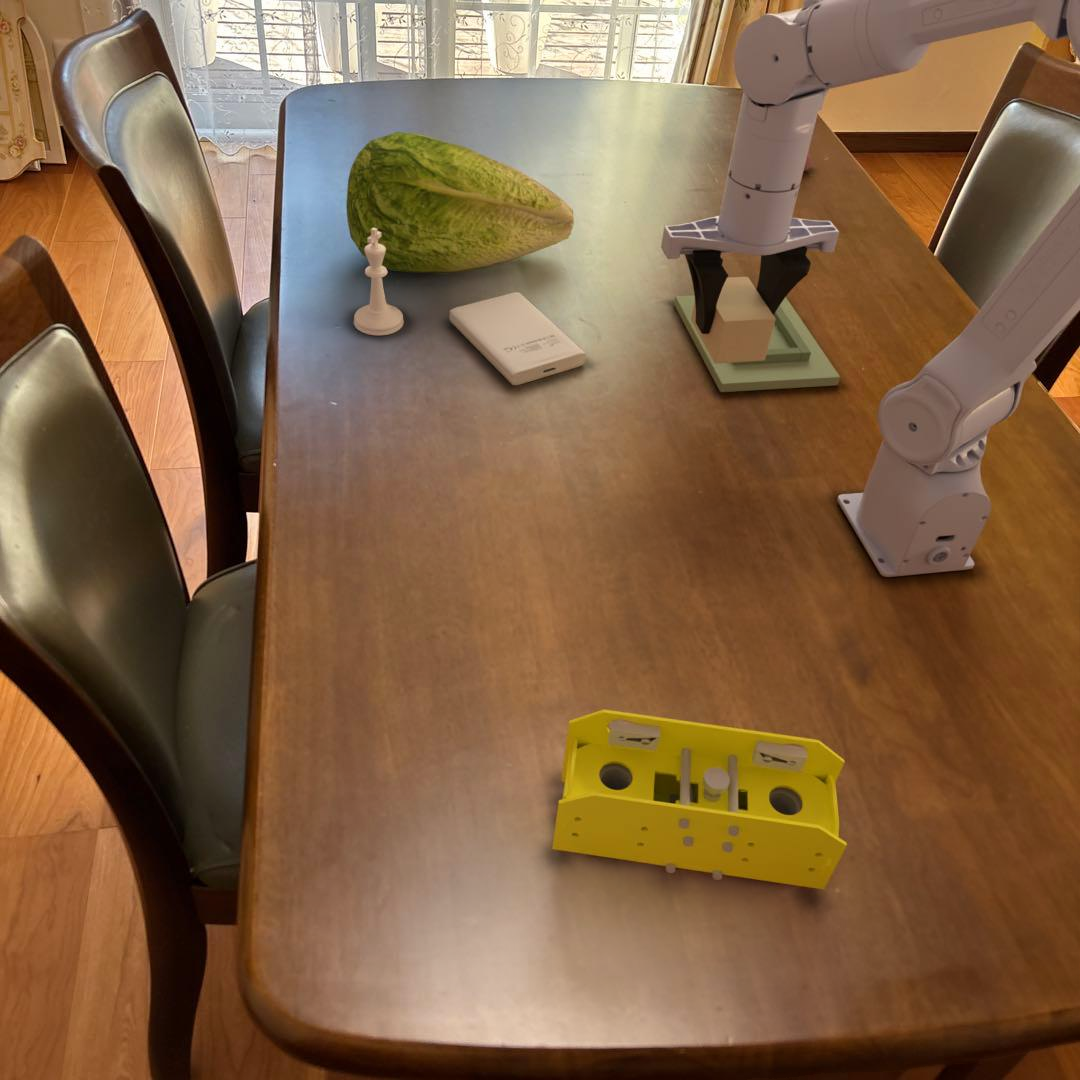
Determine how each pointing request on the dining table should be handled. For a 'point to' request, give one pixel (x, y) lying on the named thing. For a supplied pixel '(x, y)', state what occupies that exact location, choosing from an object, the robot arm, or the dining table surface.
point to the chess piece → (377, 295)
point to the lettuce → (448, 206)
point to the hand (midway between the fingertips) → (730, 326)
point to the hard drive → (516, 338)
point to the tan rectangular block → (738, 324)
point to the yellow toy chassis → (700, 798)
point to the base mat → (769, 356)
